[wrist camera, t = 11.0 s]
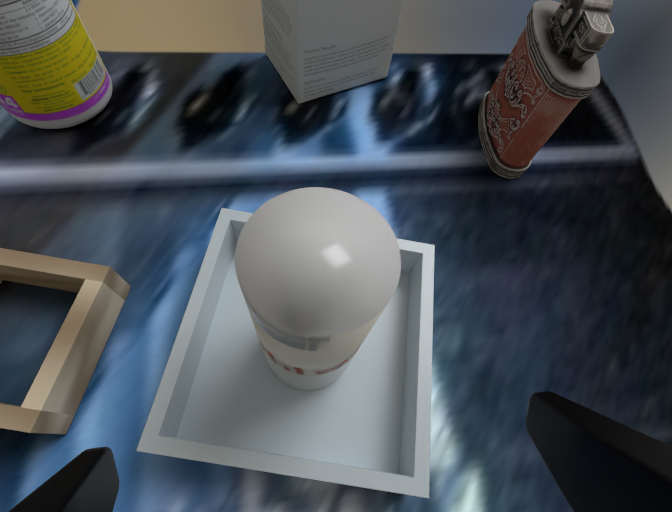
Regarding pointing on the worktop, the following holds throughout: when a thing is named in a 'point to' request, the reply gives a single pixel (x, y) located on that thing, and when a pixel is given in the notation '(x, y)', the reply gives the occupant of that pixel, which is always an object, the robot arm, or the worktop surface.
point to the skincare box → (330, 42)
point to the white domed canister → (315, 280)
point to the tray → (297, 405)
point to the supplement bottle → (49, 65)
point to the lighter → (542, 80)
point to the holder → (64, 337)
